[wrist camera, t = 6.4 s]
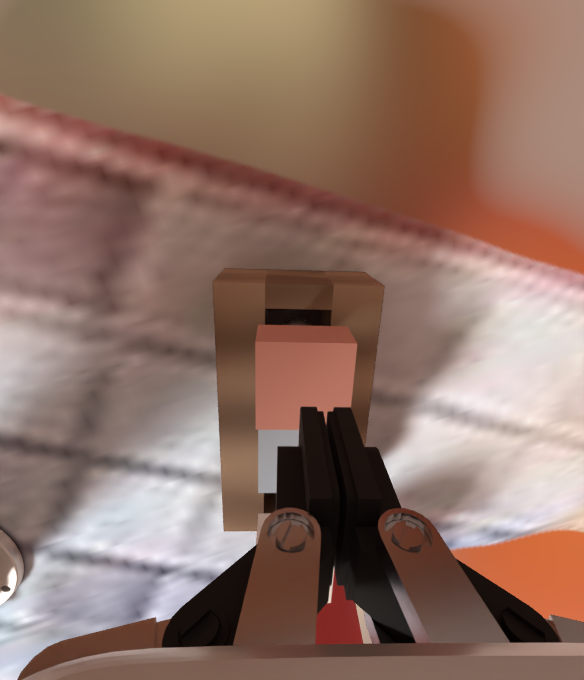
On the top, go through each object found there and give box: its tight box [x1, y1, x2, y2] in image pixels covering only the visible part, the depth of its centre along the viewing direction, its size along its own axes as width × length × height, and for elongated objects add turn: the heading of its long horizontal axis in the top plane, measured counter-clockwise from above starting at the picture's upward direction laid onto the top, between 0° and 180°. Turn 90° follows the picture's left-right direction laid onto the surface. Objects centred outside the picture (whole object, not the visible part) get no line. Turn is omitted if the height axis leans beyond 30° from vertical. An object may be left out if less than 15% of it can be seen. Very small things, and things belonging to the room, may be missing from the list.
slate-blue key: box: [258, 430, 299, 493], centre depth 24 cm, size 4×4×7 cm
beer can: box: [315, 569, 363, 644], centre depth 30 cm, size 7×7×12 cm
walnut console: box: [213, 268, 385, 531], centre depth 26 cm, size 19×10×5 cm, turn 178°
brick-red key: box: [255, 318, 357, 430], centre depth 19 cm, size 4×4×7 cm
